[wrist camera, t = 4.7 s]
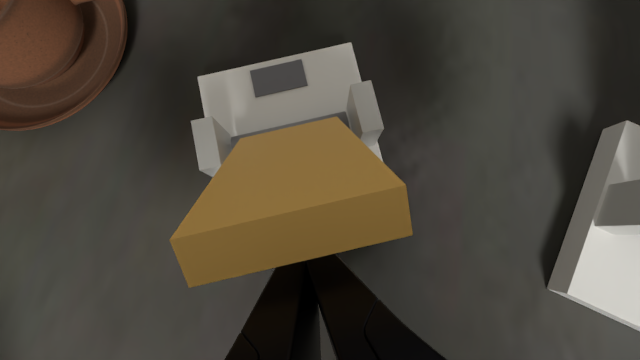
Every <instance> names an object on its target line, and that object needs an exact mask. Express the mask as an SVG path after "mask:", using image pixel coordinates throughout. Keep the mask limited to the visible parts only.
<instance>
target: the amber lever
mask: <svg viewBox="0 0 640 360" xmlns="http://www.w3.org/2000/svg"><path fill="white" fill-rule="evenodd" d="M231 147H232V151H231V152H230V154H229V155H228V157H227V158H226V160H225V161H224V162H223V164H222V165H221V167H220V168H219V170H218V171H217V172H216V174H215V175H214V177H213V178H212V180H211V181H210V183H209V184H208V185H207V187H206V188H205V190H204V191H203V193H202V194H201V195H200V197H199V198H198V200H197V201H196V203H195V204H194V205H193V207H192V208H191V210H190V211H189V213H188V214H187V216H186V217H185V218H184V220H183V221H182V223H181V224H180V226H179V227H178V228H177V230H176V231H175V233H174V234H173V236H172V237H171V239H170V242H171V245H172V247H173V250H174V252H175V254H176V257H177V259H178V262H179V264H180V267H181V269H182V272H183V274H184V276H185V279H186V281H187V284H188V286H189V288H190V287H194V286H199V285H203V284H207V283H212V282H216V281H220V280H224V279H229V278H233V277H237V276H241V275H246V274H250V273H254V272H258V271H263V270H267V269H271V268H275V267H280V266H284V265H288V264H292V263H297V262H301V261H305V260H309V259H314V258H318V257H322V256H326V255H331V254H335V253H339V252H343V251H348V250H352V249H356V248H360V247H365V246H369V245H373V244H377V243H382V242H386V241H390V240H394V239H399V238H403V237H407V236H411V235H413V233H412V225H411V218H410V210H409V203H408V196H407V188H406V184H405V183H404V182H403V181H402V180H401V179H400V178H399V177H398V176H397V175H396V174H395V173H394V172H392V171H391V170H390V169H389V168H388V167H387V166H386V165H385V164H384V163H383V162H382V161H381V160H380V159H379V158H378V157H377V156H376V155H375V154H374V153H373V152H372V151H371V150H370V149H369V148H368V147H367V146H366V145H365V144H364V143H363V142H362V141H361V140H360V139H359V138H358V137H357V136H356V135H355V134H354V133H353V132H352V131H351V130H350V126H349V122H348V118H347V115H346V112H345V111H343V112H339V113H335V114H330V115H326V116H321V117H317V118H313V119H308V120H304V121H300V122H295V123H291V124H286V125H282V126H278V127H273V128H269V129H264V130H260V131H256V132H251V133H247V134H243V135H238V136H234V137H231Z"/></svg>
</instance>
